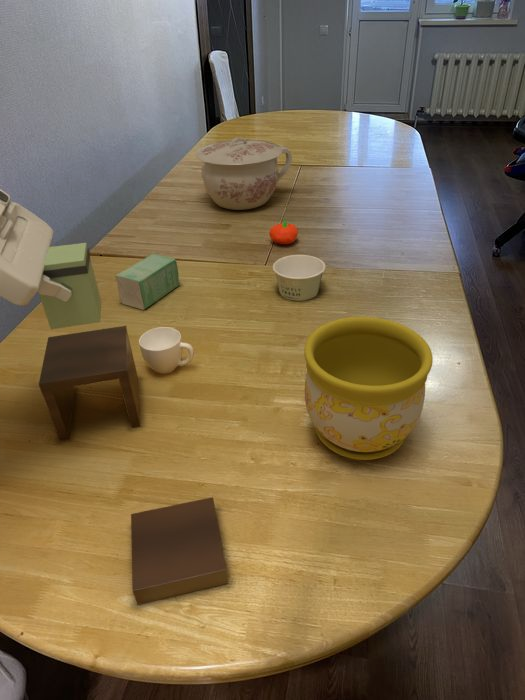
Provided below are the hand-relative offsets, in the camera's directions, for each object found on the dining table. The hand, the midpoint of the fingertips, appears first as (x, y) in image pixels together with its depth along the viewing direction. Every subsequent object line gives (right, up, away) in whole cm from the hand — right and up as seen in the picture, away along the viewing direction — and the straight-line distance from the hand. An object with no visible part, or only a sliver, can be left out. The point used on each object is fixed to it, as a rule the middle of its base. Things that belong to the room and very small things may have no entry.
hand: (72, 283), depth 74 cm
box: (+1, +4, +49) cm, 49 cm away
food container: (+36, +4, +47) cm, 60 cm away
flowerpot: (+43, -23, +9) cm, 50 cm away
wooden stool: (-1, -20, +16) cm, 25 cm away
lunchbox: (0, -4, +3) cm, 5 cm away
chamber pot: (+21, +39, +97) cm, 106 cm away
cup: (+10, -13, +25) cm, 30 cm away
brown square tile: (+17, -36, -8) cm, 40 cm away
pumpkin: (+33, +20, +70) cm, 80 cm away
